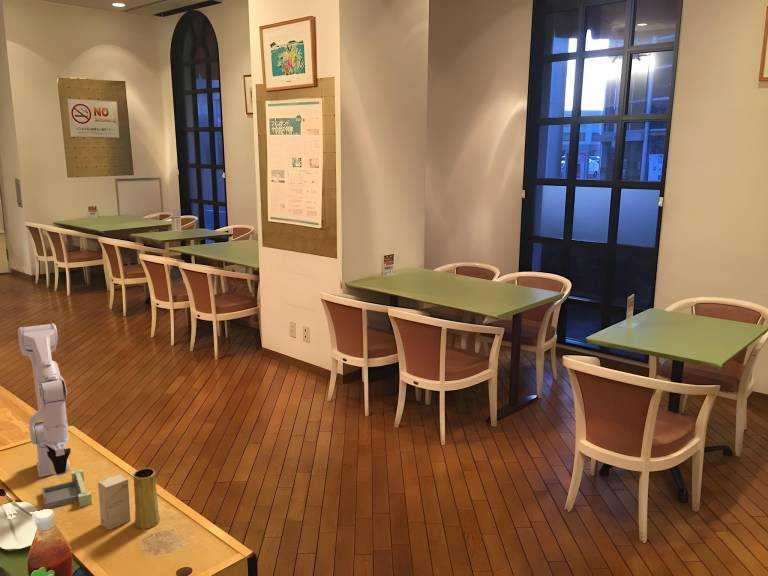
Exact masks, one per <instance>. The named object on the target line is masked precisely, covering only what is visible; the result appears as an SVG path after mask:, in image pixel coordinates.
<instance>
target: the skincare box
mask: <svg viewBox="0 0 768 576" xmlns="http://www.w3.org/2000/svg"><path fill="white" fill-rule="evenodd" d="M97 485H98V486H97V488H98V499H99V513H100V516H99V517H100V525H102V526H103V527H104V528H105V529H106V530H108V531H109V530H112V529H114V528H117V527H119V526H122V525H124V524H127V523H129V522H131V510H130V493H129V479H128V478H127V477H126V476H125V475H123V474H122V473H119V474H115V475H112V476H110V477H107V478H105V479H101V480H99V481H97Z"/></svg>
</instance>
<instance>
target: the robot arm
mask: <svg viewBox="0 0 768 576" xmlns="http://www.w3.org/2000/svg"><path fill="white" fill-rule="evenodd" d="M17 337H18V345H19V349H20V353H21V355H22V356H25V357H28V358H29V360H30V362H31V368H32V374H33V381H34V383H33V384H34V388H35V389H34V390H35V397H36V403H37V404H36V405H37V411H36V412H35V413H34V414H33V415H32V416H31V417H30V418H29V420H28V423H29V425H28V426H29V427H28V428H29V436H30V442H31V444H33V446H34V445H36V450H37V451H36V452H37V462H36V470H37V473H38V477H39V478H42V477H47V476H52V475H54V474H53V473H52V472H51V471H50V464H51V462H52V463H53V465H54V469H55V472H56V474H57V475H58V474H62V473H65V471H66V464H67V459H68V458H69V456H70V454H71V447H68V448H66V446H67V444H68V442H69V440H70V435H69V433H70V432H69V431H70V430H69V425H68V417H67V408H66V400H67V397H68V390H67V385H66V381H65V379H64V378H63V376H62V375H61V372H60V368H59V365H58V363H57V361H55V360H53V359H52V357H53V356H52V353H53V352H55V351H56V349H57V346H58V341H59V338H58V329H57V326H56V324H54V322H53V323H48V324H40V325H33V326H32V325H31V326H24V327H23V326H20V327H19V328H18V329H17ZM39 421H40V422H39ZM68 460H69V459H68ZM69 471H70V469H69V470H68V472H69ZM65 474H66V473H65ZM57 475H56V476H57Z"/></svg>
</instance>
